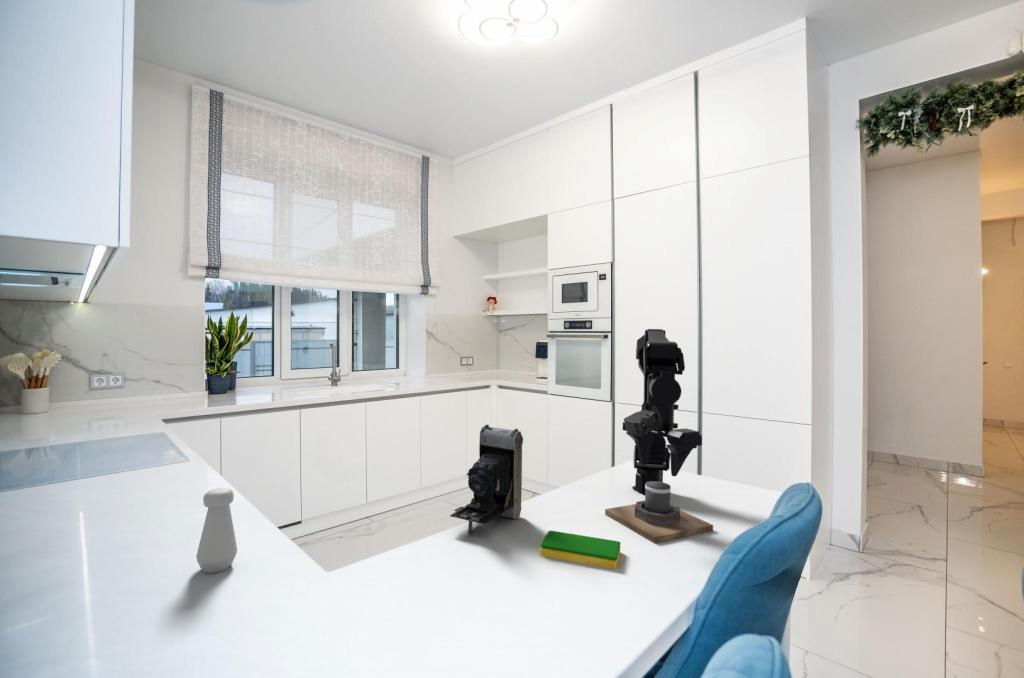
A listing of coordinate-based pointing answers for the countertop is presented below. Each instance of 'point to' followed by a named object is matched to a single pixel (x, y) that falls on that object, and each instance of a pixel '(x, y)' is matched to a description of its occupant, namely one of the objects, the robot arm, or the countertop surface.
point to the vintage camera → (495, 478)
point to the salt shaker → (217, 532)
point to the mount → (658, 522)
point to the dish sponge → (581, 549)
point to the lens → (657, 497)
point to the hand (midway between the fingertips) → (658, 470)
